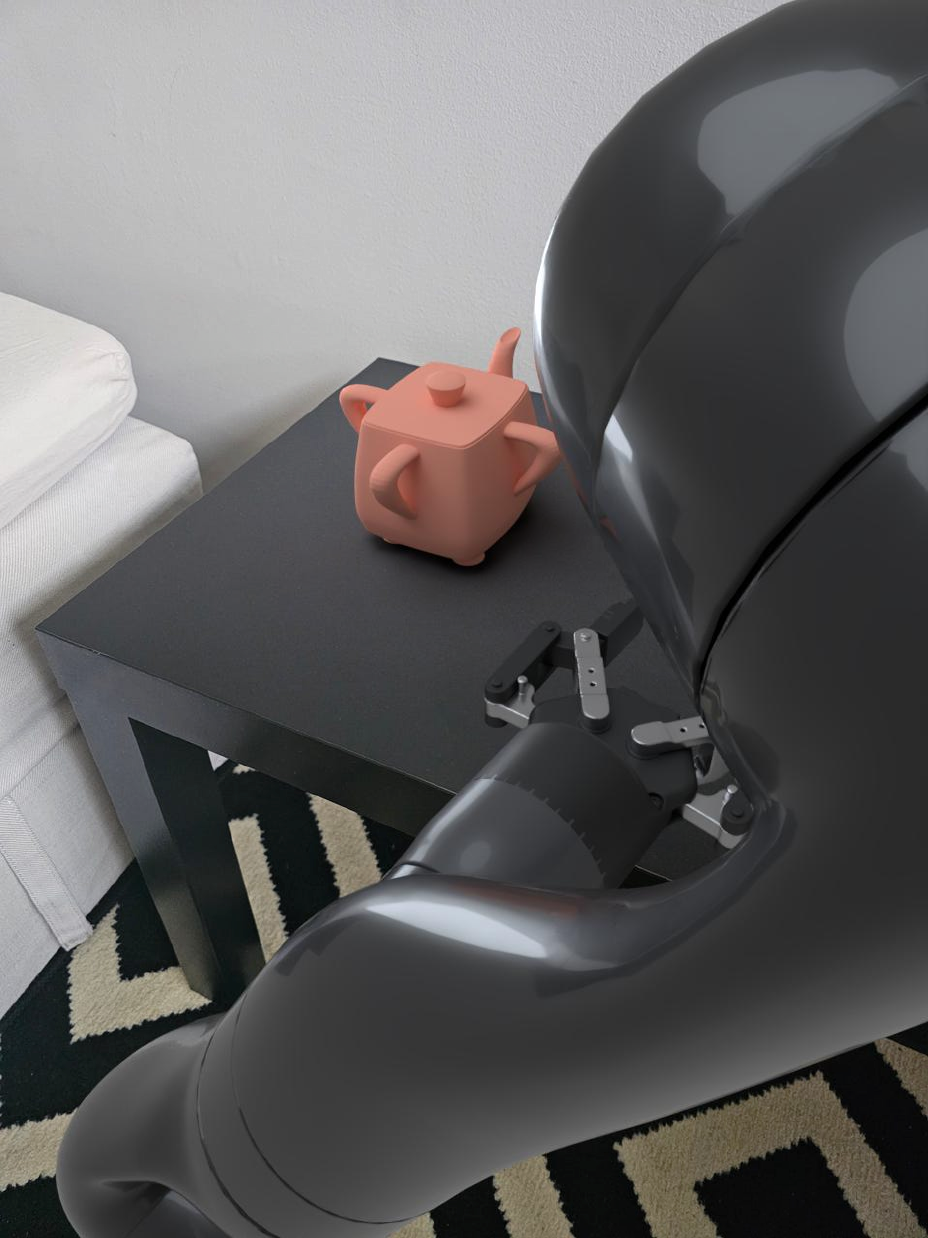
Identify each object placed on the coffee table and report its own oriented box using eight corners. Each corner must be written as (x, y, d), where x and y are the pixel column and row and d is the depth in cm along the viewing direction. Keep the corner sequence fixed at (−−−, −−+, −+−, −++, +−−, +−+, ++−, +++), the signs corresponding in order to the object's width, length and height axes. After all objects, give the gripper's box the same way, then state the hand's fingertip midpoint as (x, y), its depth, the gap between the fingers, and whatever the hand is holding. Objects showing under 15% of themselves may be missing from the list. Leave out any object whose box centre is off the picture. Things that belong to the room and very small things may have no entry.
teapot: (386, 602, 75) (371, 450, 67) (336, 491, 86) (317, 349, 78) (590, 553, 79) (601, 403, 70) (516, 453, 90) (518, 314, 82)
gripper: (688, 894, 36) (865, 647, 45) (388, 717, 43) (597, 535, 52) (664, 1001, 41) (829, 758, 50) (400, 826, 47) (588, 642, 57)
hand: (710, 645), depth 51 cm, fingers open, 8 cm apart
